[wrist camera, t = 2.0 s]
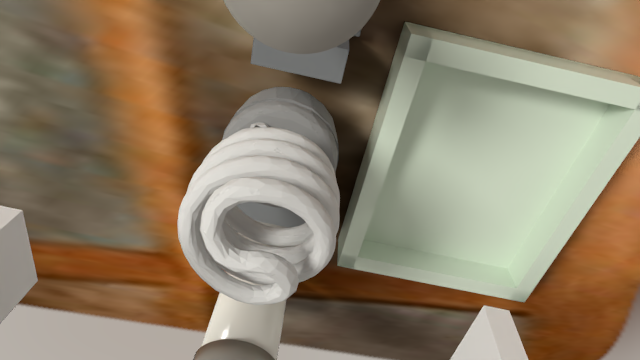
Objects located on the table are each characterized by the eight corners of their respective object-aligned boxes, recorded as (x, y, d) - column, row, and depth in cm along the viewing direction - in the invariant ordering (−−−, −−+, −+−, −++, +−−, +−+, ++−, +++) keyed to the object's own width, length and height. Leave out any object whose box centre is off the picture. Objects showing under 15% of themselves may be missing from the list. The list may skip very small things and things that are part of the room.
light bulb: (360, 134, 24) (369, 300, 13) (275, 173, 25) (226, 347, 15) (310, 43, 21) (275, 163, 11) (220, 93, 23) (116, 237, 13)
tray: (338, 238, 28) (337, 265, 26) (404, 21, 20) (411, 33, 18) (511, 273, 28) (524, 302, 26) (637, 76, 21) (669, 94, 19)
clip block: (225, 277, 30) (212, 316, 27) (287, -226, 16) (273, -259, 13) (294, 290, 30) (288, 330, 27) (415, -191, 16) (430, -216, 13)
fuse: (234, 255, 28) (183, 408, 19) (240, 209, 26) (187, 356, 17) (292, 266, 28) (267, 422, 19) (303, 221, 26) (280, 373, 17)
